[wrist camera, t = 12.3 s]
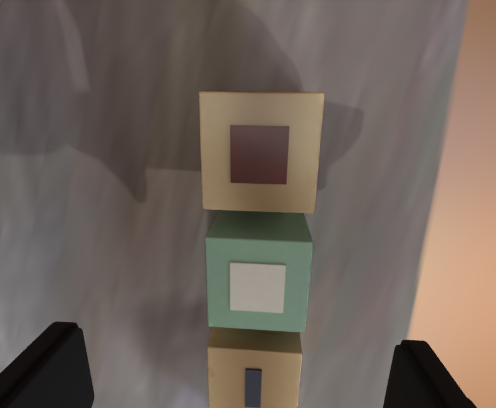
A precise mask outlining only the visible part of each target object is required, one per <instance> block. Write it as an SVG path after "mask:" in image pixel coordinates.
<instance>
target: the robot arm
mask: <svg viewBox="0 0 496 408" xmlns="http://www.w3.org/2000/svg"><path fill="white" fill-rule="evenodd" d="M93 401H94V390H93V385H92V379H91V374H90V369H89V363H88V358H87V352H86V347H85V341H84V336H83V331H82V329H81V328H79V327H78V325H77V324H76V323H73V322H54V323H52V324H51V325H50V326H49V327H48V328H47V329H46V330H45V331H44V332H43V333H42V334H41V335H40V336H38V337H37V338H36V339H35V340H34V341H33V342H32V343H31V344H30V345H29V346H28V347H27V348H26V349H25V350H24V351H23V352H22V353H21V354H20V355H19V356H18V357H17V358H16V359H15V360H14V361H13V362H12V363H11V364H10V365H9V366H8V367H6V368H5V369H4V370H3V371H2V372H1V373H0V408H91V407H92V404H93ZM383 408H477V407H476V406H475V405H474V404H473V402H472V401H471V400H470V399H468V398H467V397H466V396H465V394H464V393H463V392H462V390H461V389H460V387H458V385H457V383H456V382H455V381H454V379H453V378H452V376H451V375H450V373H449V372H448V371H447V369H446V368H445V367H444V365H443V364H442V362H441V361H440V360H439V358H438V357H437V355H436V354H435V353H434V351H433V350H432V348H431V347H430V346H429V344H428V343H427V342H425V341H417V340H403V341H402V342H401V344H400V345H396V346H395V349H394V355H393V360H392V365H391V370H390V375H389V380H388V385H387V390H386V395H385V400H384V405H383Z"/></svg>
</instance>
